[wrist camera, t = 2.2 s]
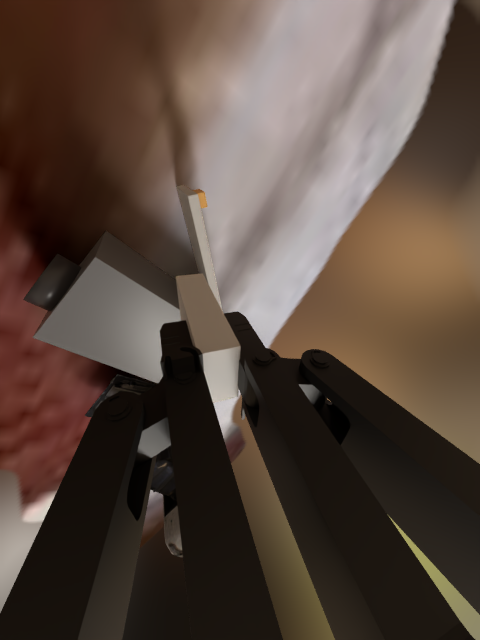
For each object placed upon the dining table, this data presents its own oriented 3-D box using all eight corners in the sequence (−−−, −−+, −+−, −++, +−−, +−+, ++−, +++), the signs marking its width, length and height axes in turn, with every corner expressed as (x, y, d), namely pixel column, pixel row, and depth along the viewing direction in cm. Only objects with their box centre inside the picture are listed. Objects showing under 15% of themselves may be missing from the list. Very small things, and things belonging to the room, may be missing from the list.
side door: (174, 186, 24) (185, 196, 18) (193, 182, 24) (210, 191, 19) (204, 301, 32) (218, 333, 27) (218, 297, 33) (234, 327, 27)
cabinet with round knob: (36, 283, 25) (-2, 332, 18) (85, 216, 23) (64, 242, 16) (164, 345, 35) (170, 393, 28) (205, 301, 33) (223, 340, 26)
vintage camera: (123, 350, 33) (99, 523, 18) (208, 383, 42) (242, 518, 26) (88, 395, 36) (39, 582, 20) (175, 417, 44) (189, 560, 29)
